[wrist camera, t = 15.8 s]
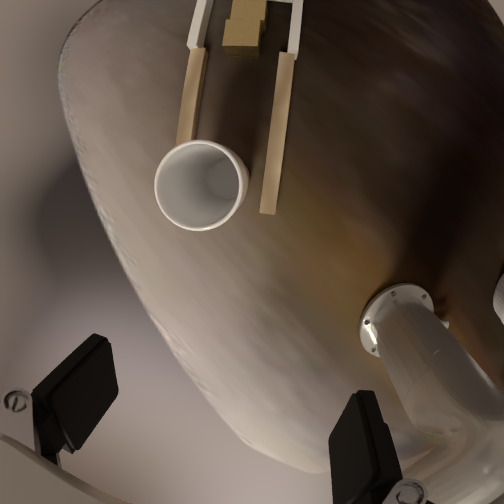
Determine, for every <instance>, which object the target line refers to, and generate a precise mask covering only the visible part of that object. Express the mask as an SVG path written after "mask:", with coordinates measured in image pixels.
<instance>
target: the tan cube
mask: <svg viewBox="0 0 504 504" xmlns="http://www.w3.org/2000/svg"><path fill="white" fill-rule="evenodd" d="M236 19H240V20H260V22H261V31H262V34H265V32H266V22H267V0H233V4H232V10H231V16H230V20H236Z"/></svg>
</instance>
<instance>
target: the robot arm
mask: <svg viewBox="0 0 504 504" xmlns="http://www.w3.org/2000/svg"><path fill="white" fill-rule="evenodd" d="M448 327H449V321H448V320H440V319H439V318H438V317H437V316H436V315H435V314H434V307H433V302H432V299H431V297H430V295H429V294H428V293H427V292H426V291H425V290H424V289H423V288H422V287H420V286H418V285H416V284H413V283H399V284H396V285H392V286H390V287H388V288H386V289H384V290H383V291H381V292H380V293H379V294H377V295H376V296H375V297H374V298H373V299H372V300H371V301H370V303H369V304H368V305H367V306H366V308H365V310H364V312H363V314H362V316H361V319H360V323H359V336H360V340H361V342H362V344H363V346H364V348H365V349H366V350H367V351H368V352H369V353H370V354H372V355H374V356H377V357H381V360H382V362H383V364H384V366H385V368H386V370H387V372H388V374H389V376H390V378H391V380H392V383H393V385H394V387H395V389H396V391H397V393H398V396H399V398H400V400H401V402H402V405H403V407H404V409H405V411H406V413H407V416H408V418H409V420H410V421H411V423H412V424H413V425H414V426H415V427H416V428H418V429H419V430H421V431H423V432H426V433H430V434H436V435H443V439H442V441H441V442H440V443H439V444H438V445H437V446H436V447H435V448H433V449H432V450H431V451H430V452H429V453H428V454H427V455H425V456H424V457H422V458H421V459H420V460H418V461H417V462H415V463H414V464H413V465H411V466H410V467H408V468H407V469H405V470H404V471H402V472H401V468H400V465H399V461H398V458H397V454H396V451H395V447H394V444H393V440H392V437H391V434H390V430H389V427H388V425H387V424H386V423H384V421H383V418H382V415H381V411H380V408H379V405H378V402H377V399H376V396H375V393H374V391H369V390H358V391H357V393H356V394H355V393H353V394H352V395H351V397H350V399H349V401H348V403H347V405H346V407H345V409H344V411H343V413H342V415H341V416H340V418H339V420H338V422H337V424H336V425H335V427H334V429H333V431H332V432H331V434H330V436H329V442H328V443H329V454H330V466H331V478H332V495H333V504H504V392H503V391H502V390H501V389H500V388H499V387H498V386H497V385H496V384H495V383H494V382H493V381H492V380H491V379H490V378H489V377H488V376H487V374H486V373H485V372H484V371H483V370H482V369H481V367H480V366H479V365H478V364H477V362H476V361H475V360H474V359H473V358H472V357H471V356H470V354H469V353H468V352H467V351H466V350H465V349H464V347H463V346H462V345H461V344H460V343H459V342H458V340H457V339H456V338H455V337H454V336H453V335H452V334H451V333H450V331H449V330H448V329H447V328H448ZM117 395H118V385H117V379H116V374H115V367H114V361H113V354H112V348H111V343H109V342H108V339H107V338H106V337H103V336H100V335H98V334H95V333H94V334H92V335H91V336H90V337H89V338H87V340H85V341H84V342H83V343H82V344H81V345H80V346H79V347H78V348H76V349H75V350H74V351H73V352H72V353H71V354H70V355H69V356H68V357H67V358H66V359H65V360H63V362H61V364H59V365H58V366H57V367H56V368H55V369H54V370H53V371H52V372H51V373H50V374H49V375H48V376H47V377H46V378H45V379H44V380H43V381H42V382H40V383H39V384H38V386H36V387H35V388H34V389H33V392H32V393H31V394H30V393H29V392H28V391H26V390H24V389H22V388H11V389H9V390H7V391H6V392H5V393H4V394H3V395H2V397H1V400H0V504H131V503H128V502H125V501H123V500H121V499H119V498H116V497H114V496H112V495H110V494H108V493H106V492H103V491H101V490H99V489H97V488H95V487H93V486H91V485H90V484H88V483H86V482H84V481H82V480H80V479H79V478H77V477H75V476H73V475H72V474H70V473H68V472H66V471H64V470H63V469H62V465H61V460H60V455H59V452H60V450H61V449H62V448H63V449H64V450H66V451H68V452H69V453H71V454H73V453H74V451H75V450H79V449H80V448H81V447H82V445H83V444H84V443H85V441H86V440H87V438H88V437H89V435H90V434H91V433H92V431H93V430H94V428H95V427H96V425H97V424H98V423H99V421H100V420H101V418H102V417H103V415H104V414H105V412H106V411H107V410H108V408H109V407H110V406H111V404H112V403H113V401H114V400H115V399H116V397H117Z"/></svg>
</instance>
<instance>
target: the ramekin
mask: <svg viewBox="0 0 504 504" xmlns="http://www.w3.org/2000/svg"><path fill="white" fill-rule="evenodd" d="M493 306H494V310H495V312H496V313H497V315H498V316H499V317H500V319H501V320H502V322H503V324H504V274H503V275H502V276H501V278H500V280H499V281H498V283H497V286H496V288H495V291H494V296H493Z"/></svg>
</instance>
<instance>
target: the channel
mask: <svg viewBox="0 0 504 504" xmlns="http://www.w3.org/2000/svg"><path fill="white" fill-rule="evenodd" d="M208 55H209V53H208V51H207V50H206V48H191V52H190V57H189V62H188V67H187V72H186V78H185V84H184V90H183V96H182V102H181V109H180V116H179V123H178V131H177V139H176V146H178V145H179V144H181V143H184V142H187V141H191V140H196V132H197V124H198V117H199V109H200V103H201V96H202V90H203V83H204V77H205V71H206V66H207V60H208ZM294 58H295V54H294V53H286V52H280V54H279V62H278V70H277V78H276V86H275V94H274V102H273V110H272V118H271V126H270V134H269V142H268V150H267V157H266V165H265V173H264V181H263V189H262V197H261V204H260V212H259V213H265V214H272V215H275V211H276V203H277V196H278V189H279V181H280V174H281V166H282V158H283V151H284V143H285V135H286V127H287V119H288V110H289V102H290V94H291V85H292V76H293V67H294Z"/></svg>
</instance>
